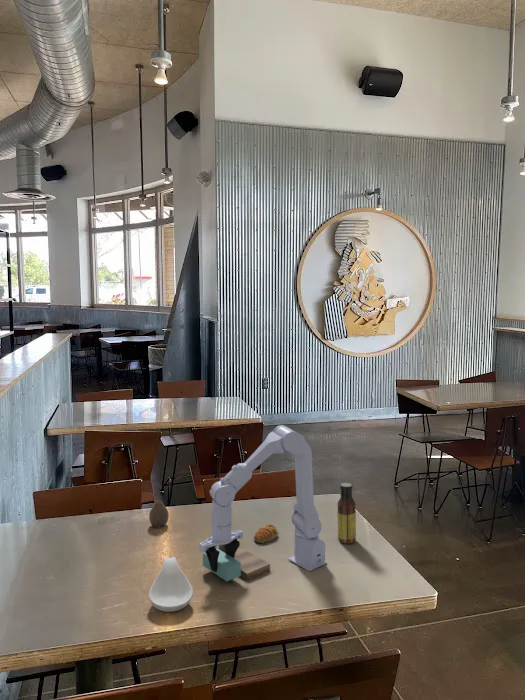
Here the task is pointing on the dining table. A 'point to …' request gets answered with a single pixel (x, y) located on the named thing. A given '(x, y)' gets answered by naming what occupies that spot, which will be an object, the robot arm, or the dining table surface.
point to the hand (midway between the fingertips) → (221, 567)
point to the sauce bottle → (346, 515)
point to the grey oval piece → (158, 514)
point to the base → (249, 563)
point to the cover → (224, 566)
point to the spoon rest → (170, 588)
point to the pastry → (266, 534)
